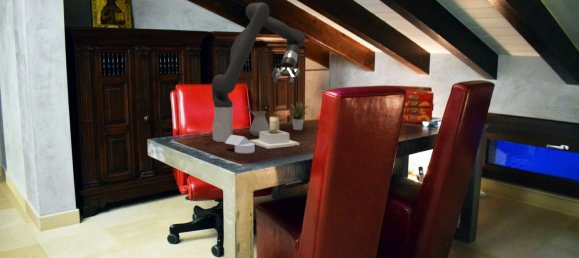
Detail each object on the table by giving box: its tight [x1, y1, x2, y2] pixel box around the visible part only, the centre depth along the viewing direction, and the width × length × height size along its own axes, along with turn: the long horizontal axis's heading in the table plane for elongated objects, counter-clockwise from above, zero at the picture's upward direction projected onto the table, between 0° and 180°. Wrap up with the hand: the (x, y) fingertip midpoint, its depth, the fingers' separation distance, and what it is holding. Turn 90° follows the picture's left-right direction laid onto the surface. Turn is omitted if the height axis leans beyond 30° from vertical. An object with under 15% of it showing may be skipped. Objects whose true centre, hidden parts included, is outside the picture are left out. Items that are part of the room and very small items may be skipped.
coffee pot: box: [244, 105, 270, 137], centre depth 273 cm, size 21×12×15 cm, turn 37°
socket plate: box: [248, 130, 300, 150], centre depth 246 cm, size 18×18×6 cm
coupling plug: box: [269, 116, 280, 134], centre depth 245 cm, size 6×5×12 cm
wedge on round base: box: [224, 134, 256, 154], centre depth 228 cm, size 9×7×13 cm
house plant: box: [287, 102, 310, 131], centre depth 290 cm, size 14×14×16 cm
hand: (282, 83), depth 260 cm, fingers open, 8 cm apart
